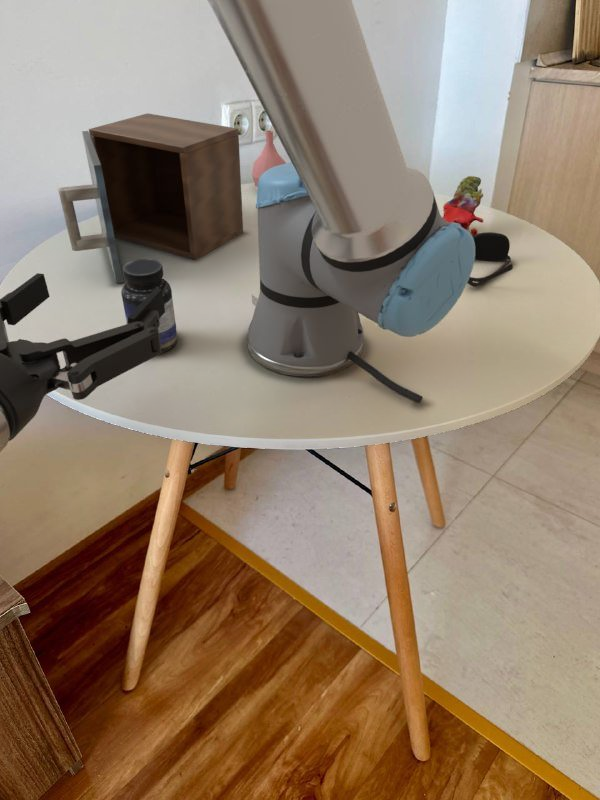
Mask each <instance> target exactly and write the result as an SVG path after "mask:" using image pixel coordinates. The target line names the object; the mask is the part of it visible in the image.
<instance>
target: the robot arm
mask: <svg viewBox="0 0 600 800" xmlns="http://www.w3.org/2000/svg"><path fill="white" fill-rule="evenodd" d="M207 1H208V4H209V6H210V8H211V10H212V12H213V14H214V16H215V18H216V19H217V21H218V23H219V25H220V27H221V29H222V31H223V34H224V35H225V37H226V39H227V41H228V43H229V44H230V47H231V48H232V50H233V52H234V54H235V56H236V59H237V60H238V62H239V64H240V66H241V68H242V70H243V72H244V73H245V75H246V77H247V79H248V81H249V83H250V86H251V87H252V89H253V92H254V93H255V95H256V97H257V98H258V101H259V103H260V104H261V106H262V108H263V110H264V112H265V114H266V116H267V118H268V120H269V122H270V123H271V125H272V127H273V129H274V132H275V134H276V135H277V137H278V140H279V141H280V144H281V145H282V147H283V149H284V150H285V152H286V154H287V156H288V158H289V160H290V162H286V164H282V165H278V166H275V167H272V168H270V169H268V170H266V171H265V172H264V173H263V174H262V175H261V177H260V178H259V181H258V187H257V190H256V203H255V209H256V213H257V238H258V239H257V241H258V243H257V244H258V265H259V266H258V268H259V270H258V271H259V295H258V298H257V297H256V296H255V295H254V294H253V293H252V294H251V301H252V302H251V303H252V305H253V306H254V307H255V308H254V311H253V315H252V319H251V321H250V323H249V325H248V330H247V349H248V352H249V354H250V356H251V357H252V358H253V359H254V360H255V362H257V363H258V364H259V365H260V366H263V367H264V368H266V369H267V370H270V371H273V372H275V373H279V374H282V375H287V376H292V377H293V376H294V377H319V376H320V377H321V376H327V375H332V374H335V373H339V372H342V371H343V370H345V369H347V368H349V367H350V366H352V365H353V364H356V365H357V366H358V367H359V368H361V369H362V370H364V371H365V372H366V373H368V374H369V375H370V376H372V377H373V378H375V379H376V381H378V382H380V384H382V385H384V386H385V387H387V388H388V389H390V390H391V391H393V392H395V393H397V394H398V395H401V396H402V397H405V398H407V399H409V400H411V401H413V402H414V403H417V404H421V402H422V400H423V395H421V394H418V393H416V392H415V391H412V390H409V389H408V388H405V387H403V386H402V385H400V384H398V383H396V382H395V381H393V380H391V379H390V378H389V377H387V376H386V375H384V374H383V373H382V372H380V371H379V370H378V369H377V368H375V367H374V366H372V364H370V363H369V362H367V361H366V360H364V359H363V358H361V356H362V353H363V350H364V342H365V335H364V328H363V324H362V322H361V318H360V315H361V316H363V317H364V318H367V319H368V320H370V321H372V322H374V323H375V324H377V325H378V327H379V328H381V329H382V330H384V331H390V332H392V333H394V334H396V335H398V336H400V337H403V338H413V337H417V336H418V335H423V334H425V333H427V332H429V331H430V330H432V329H433V328H434V327H436V325H437V326H438V324H440V322H442V320H443V319H444V318H445V317H447V315H448V314H449V313H450V312H451V310H452V309H453V308H454V307H455V305H456V303H458V300H459V299H460V298H461V296H462V294H463V293H464V290H465V289H466V286H467V284H468V283H467V282H468V280H469V278H470V277H471V275H472V272H473V269H474V265H475V260H476V259H475V242H474V239H473V237H474V236H473V234H472V233H471V231H468V230H466V229H464V228H462V227H461V225H460V224H458V223H455V222H453V223H449V222H447V221H446V220H444V219H443V216H442V214H441V213H440V210H439V206H438V203H437V199H436V197H435V193H434V190H433V187H432V185H431V183H430V181H429V179H428V178H427V177H426V175H424V173H422V171H420V170H419V169H417V168H414V167H411V166H408V165H407V164H406V160H405V158H404V155H403V152H402V149H401V146H400V143H399V140H398V137H397V134H396V131H395V127H394V124H393V122H392V118H391V116H390V112H389V110H388V107H387V103H386V101H385V100H386V99H385V97H384V94H383V91H382V88H381V86H380V82H379V79H378V76H377V72H376V70H375V66H374V64H373V61H372V58H371V54H370V52H369V49H368V46H367V43H366V40H365V37H364V34H363V30H362V28H361V24H360V22H359V19H358V16H357V13H356V10H355V7H354V3H353V0H207ZM50 297H51V296H50V292H49V288H48V285H47V281H46V277H45V274H44V273H38V272H37V273H35V274H34V275H33V276H31V277H30V278H29V279H28V280H26V281H25V282H23V283H22V284H21V285H19V286H18V287H17V288H15V289H14V290H13V291H10V292H8V293H7V294H5V295H4V296H2V297H1V298H0V453H1V452H2V451H3V450H4V449H5V448H6V447H7V446H8V443H9V442H11V441H12V440H14V439H15V437H17V436H18V435H19V434H20V432H21V431H23V429H24V428H25V427H26V426H27V425H28V424H29V423H30V422H31V421H32V420H33V419H34V418H35V416H36V415H37V413H39V412H38V411H39V409H40V406H41V404H42V402H43V400H44V398H45V396H47V395H48V394H49V393H52V392H55V391H56V390H58V389H59V388H60V389H64V390H67V391H71V395H72V398H73V399H74V400H75V401H82V400H84V399H86V398H87V397H89V396H90V395H91V394H92V393H93V392H94V391H95V390H96V389H97V388H98V387H100V386H102V385H103V384H106V383H108V382H109V381H111V380H113V379H115V378H117V377H119V376H121V375H123V374H125V373H127V372H128V371H130V370H132V369H134V368H136V367H138V366H140V365H142V364H144V363H146V362H148V361H149V360H151V359H153V358H155V357H157V356H159V355H160V354H162V353H161V345H160V338H159V331H158V327H159V326H160V321H159V319H160V318H161V316H162V315H163V314H164V313H165V307H164V300H163V292H162V289H158V288H155V289H154V290H153V291H152V292H151V293H150V294H149V295H148V296H147V297H146V299H145V300H144V301H143V302H142V303H141V304H140V305H139V306H138V307H137V308H136V309H135V310H134V311H133V312H132V313H131V314H130V315H129V317H128V318H127V320H128V324H127V323H126V324H122V325H120V326H116V327H113V328H110V329H107V330H102V331H100V332H97V333H93V334H91V335H87V336H83V337H81V338H77V339H73V340H69V339H68V338H65V337H64V338H60V339H57V340H54V341H50V342H34V341H30V340H28V339H22V338H19V339H17V340H12V341H10V340H9V336H8V332H7V328H6V324H7V325H9V326H16V325H17V324H19V322H20V321H22V320H23V319H24V318H26V317H27V316H28V315H30V313H32V312H33V311H35V309H36V308H38V307H39V306H40V305H42V304H43V303H44V302H45V301H46V300H48V299H49V298H50ZM5 321H6V324H5ZM61 352H62V355H63V358H64V362H65V365H64V367H62V368H61V365H60V360H59V356H58V354H59V353H61Z"/></svg>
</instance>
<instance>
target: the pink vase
mask: <svg viewBox="0 0 600 800" xmlns="http://www.w3.org/2000/svg"><path fill="white" fill-rule="evenodd" d="M286 163H287V162H286V161H285V160H284V158H282V156H281V155H280V154H279V152H278V150H277V148H276V146H275V144H274V131H273V130H266V131H265V144H264V146H263V149H262V151H261V153H260V154H259V156H258V157H257V159H255V160H254V162H253V166H252V173H251V176H252V180H253V183H254V185H255V187H256V188H258V181H259V178H260V177H261V175H262V174H263V173H264V172H265V171H266V170H268V169H270V168H272V167H275V166H278V165H282V164H286Z"/></svg>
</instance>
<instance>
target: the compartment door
mask: <svg viewBox="0 0 600 800" xmlns="http://www.w3.org/2000/svg"><path fill="white" fill-rule="evenodd" d="M81 134H82V139H83V144H84V150H85V153H86V154H85V155H86V160H87V165H88V169H89V174H90V180H91V184H83V185H72V186H64V187H59V188H58V189H57V190H58V195H59V200H60V204H61V209H62V212H63V217H64V221H65V224H66V225H65V226H66V229H67V234H68V238H69V242H70V247H71V250H72V251H74V252H80V251H89V250H95V249H104V248H105V249H106V252H107V255H108V259H109V263H110V267H111V270H112V273H113V276H114V280H115V283H116V284H120V283H123V281H124V280H123V276H122V275H123V274H122V270H121V269H122V268H121V263H120V259H119V254H118V253H119V252H118V248H117V243H116V237H114V231H113V226H112V221H111V215H110V210H109V204H108V199H107V194H106V188H105V183H104V178H103V172H102V167H101V163H100V161H99V158H98V155H97V153H96V150H95V148H94V145H93V142H92V140H91V137H90V134H89V130H82V131H81ZM87 200H95V204H96V205H95V206H96V209H97V214H98V219H99V220H98V221H99V225H100V230H101V233H98V234H97V233H96V234H90V235H83V236H81V232H80V227H79V222H78V219H77V214H76V210H75V205H74V202H79V201H80V202H81V201H87Z"/></svg>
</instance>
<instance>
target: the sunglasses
mask: <svg viewBox="0 0 600 800" xmlns="http://www.w3.org/2000/svg"><path fill="white" fill-rule="evenodd" d="M472 237H473V239H474V242H475V260H478V261H486V262H487V261H488V262H505V263H503V265H501V266H500V267H499V268H498V269H496V270H495V271H494V272H492V273H491V274H489V275H486V276H483V277H472V276H470V278H469V280H468V282H467V284H468V285H469V286H470V287H473V288H477V287H479V286H482V285H483V284H485V283H487V282H489V281H490V280H492V279H495V278H496V277H498V276H499V277H500V276H501V275H503V274H506V273H508V272H510V271H512V270H513V269H514V266H513V265H514V264H513V263H511V261H512V258H511V256H510V255H509V253H510V246H511V244H510V240H509V239H510V238H509V237H508V236H507V235H505V234H503V233H499V232H493V231H492V232H489V231H488V232H479V233H477V234H476V235H473V236H472Z"/></svg>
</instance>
